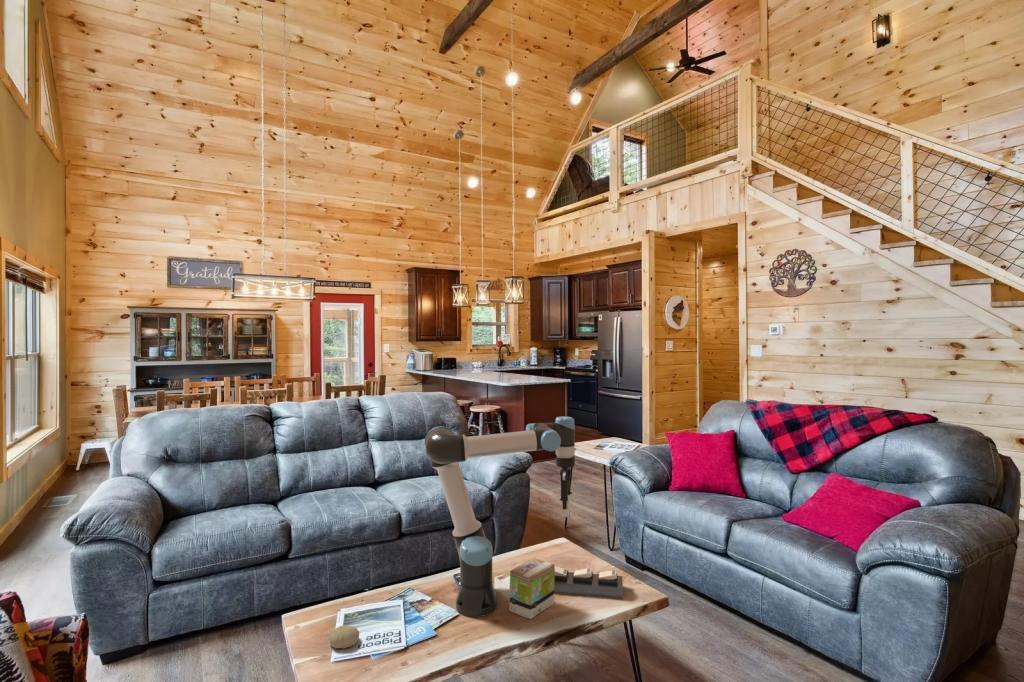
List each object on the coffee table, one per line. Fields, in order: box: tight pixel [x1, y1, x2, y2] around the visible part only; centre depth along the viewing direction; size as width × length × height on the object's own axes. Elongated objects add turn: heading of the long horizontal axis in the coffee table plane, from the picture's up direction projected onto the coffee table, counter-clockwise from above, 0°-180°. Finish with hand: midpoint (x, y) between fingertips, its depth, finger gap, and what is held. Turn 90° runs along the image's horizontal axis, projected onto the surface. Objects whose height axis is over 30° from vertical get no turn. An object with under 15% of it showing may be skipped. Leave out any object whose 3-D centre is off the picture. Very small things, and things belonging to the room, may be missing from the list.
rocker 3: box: [598, 569, 618, 580], centre depth 207 cm, size 6×4×2 cm
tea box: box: [508, 557, 556, 620], centre depth 196 cm, size 15×10×15 cm, turn 143°
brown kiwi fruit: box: [329, 624, 360, 649], centre depth 174 cm, size 9×8×8 cm
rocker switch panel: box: [554, 569, 624, 599], centre depth 209 cm, size 30×10×6 cm, turn 79°
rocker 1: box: [555, 565, 568, 576], centre depth 211 cm, size 6×4×2 cm
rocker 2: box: [573, 567, 593, 578], centre depth 209 cm, size 6×4×2 cm
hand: (565, 513), depth 216 cm, fingers open, 6 cm apart
